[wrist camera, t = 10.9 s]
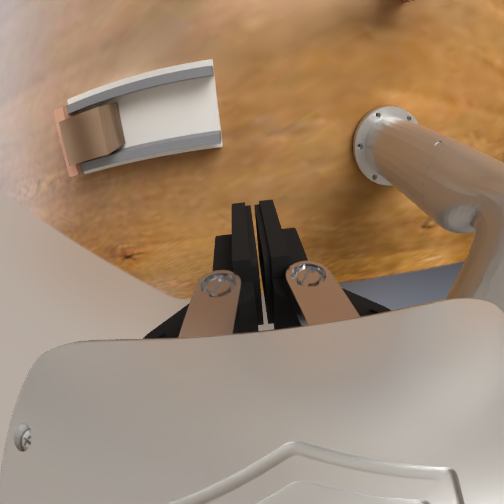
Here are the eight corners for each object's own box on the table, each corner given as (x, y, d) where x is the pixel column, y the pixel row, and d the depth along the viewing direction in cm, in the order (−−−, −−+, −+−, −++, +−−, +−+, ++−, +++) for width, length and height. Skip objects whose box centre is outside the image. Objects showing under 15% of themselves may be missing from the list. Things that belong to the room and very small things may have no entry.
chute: (212, 60, 28) (209, 56, 24) (222, 145, 35) (221, 154, 31) (70, 98, 28) (52, 103, 24) (87, 172, 35) (71, 184, 31)
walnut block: (117, 101, 29) (98, 106, 24) (125, 142, 32) (108, 154, 27) (81, 114, 29) (58, 122, 24) (89, 152, 32) (69, 166, 27)
